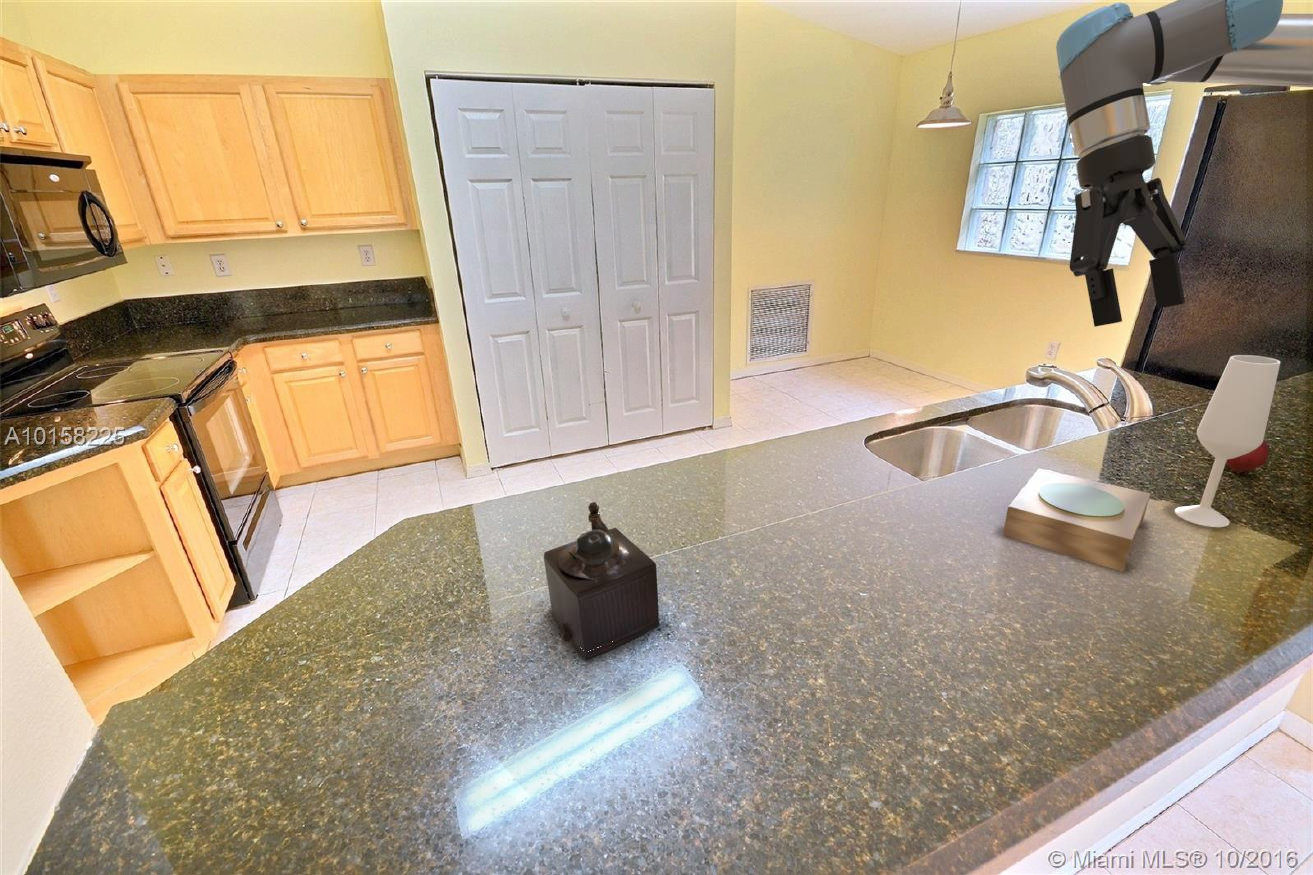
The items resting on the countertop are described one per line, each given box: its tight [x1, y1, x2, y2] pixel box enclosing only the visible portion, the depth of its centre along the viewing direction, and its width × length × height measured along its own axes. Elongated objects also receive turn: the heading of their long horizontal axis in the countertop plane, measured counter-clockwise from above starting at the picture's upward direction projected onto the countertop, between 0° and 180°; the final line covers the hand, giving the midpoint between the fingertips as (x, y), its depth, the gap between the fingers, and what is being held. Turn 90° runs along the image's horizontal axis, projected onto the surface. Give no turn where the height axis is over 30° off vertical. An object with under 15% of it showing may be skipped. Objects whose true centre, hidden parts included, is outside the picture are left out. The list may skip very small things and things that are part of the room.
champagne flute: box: [1174, 354, 1281, 528], centre depth 81 cm, size 7×7×24 cm
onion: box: [1225, 438, 1270, 474], centre depth 96 cm, size 6×6×8 cm
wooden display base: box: [1002, 468, 1152, 572], centre depth 83 cm, size 14×16×5 cm
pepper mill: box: [543, 501, 660, 661], centre depth 66 cm, size 16×11×18 cm
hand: (1140, 315), depth 73 cm, fingers open, 13 cm apart
